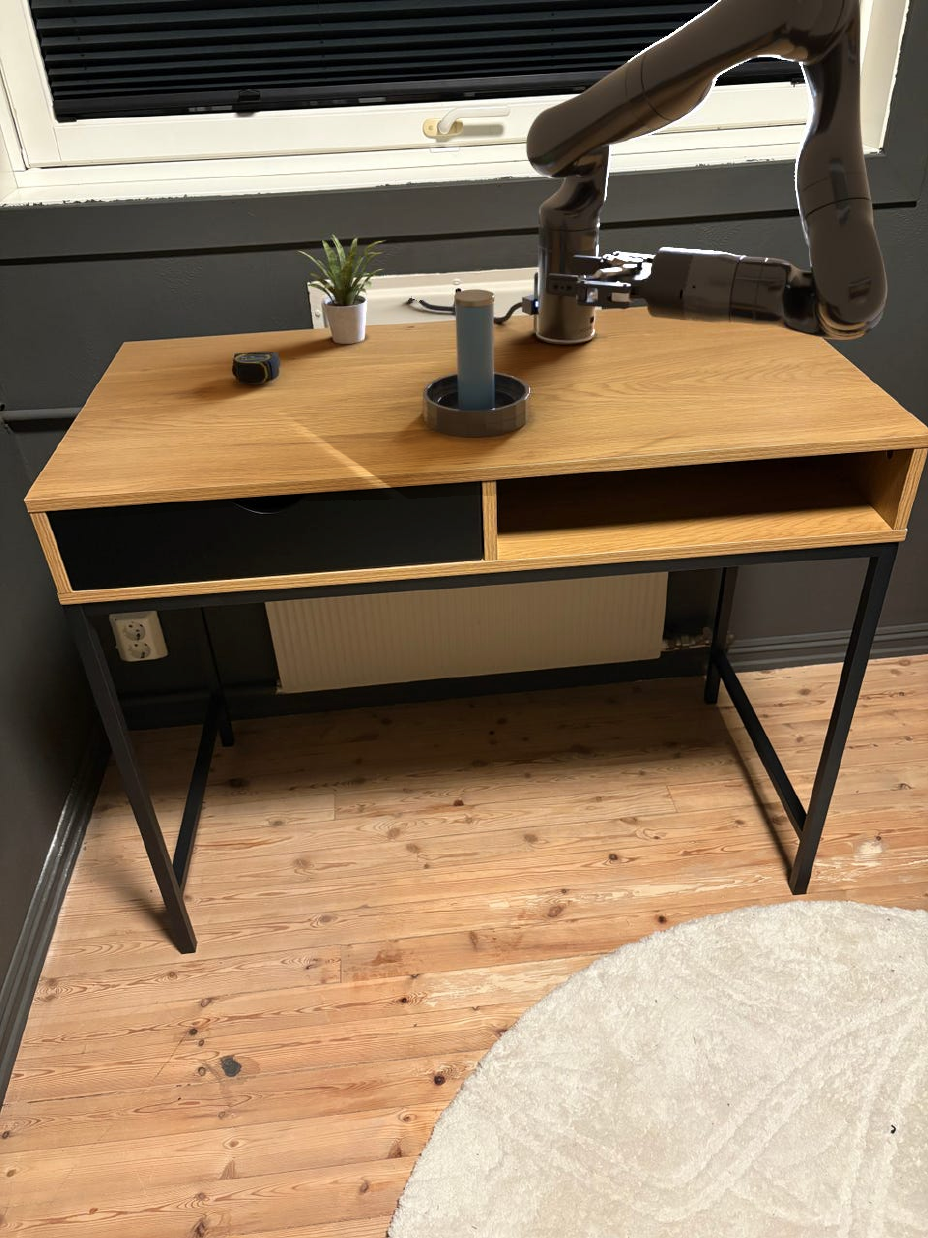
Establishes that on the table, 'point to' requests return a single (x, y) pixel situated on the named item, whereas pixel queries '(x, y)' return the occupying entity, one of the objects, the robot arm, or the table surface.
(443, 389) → the bowl
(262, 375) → the tape measure
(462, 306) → the canister
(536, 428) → the table surface
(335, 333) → the house plant
